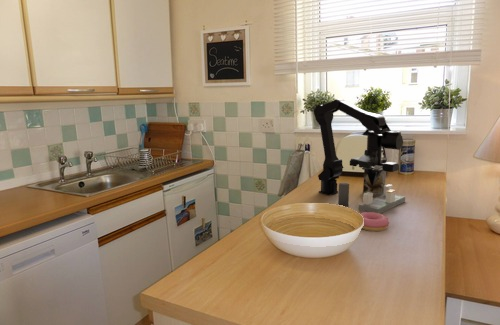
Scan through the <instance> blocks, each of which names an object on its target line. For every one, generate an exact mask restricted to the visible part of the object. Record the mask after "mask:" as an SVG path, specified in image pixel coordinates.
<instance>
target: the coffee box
mask: <svg viewBox="0 0 500 325" xmlns="http://www.w3.org/2000/svg"><path fill="white" fill-rule="evenodd" d="M381 159H383V162H381V163H387V162H388V157H381ZM386 177H387V171H384V170H383V171H382V172H381V173H380V175H379V176H378V178H377V180H376V182H375V184H374V185H371V184H370V181H369V177H368V175H367V173H366V171H365V170H364V172H363V183H362V184H363V186H362V187H363V188H362V195H363V194H364V193H367V192H371V193H373V196H381V195H383V194H384V186H385V185H386Z"/></svg>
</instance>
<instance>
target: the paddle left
mask: <svg viewBox="0 0 500 325" xmlns="http://www.w3.org/2000/svg"><path fill="white" fill-rule="evenodd" d="M362 195H363V196H362V197H363V199H362V203H363V204H366V205H369V204H371V203H373V199H374V195H373V193H371V192H367V193H364V194H363V193H362Z"/></svg>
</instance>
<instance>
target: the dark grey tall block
mask: <svg viewBox="0 0 500 325" xmlns="http://www.w3.org/2000/svg"><path fill="white" fill-rule="evenodd" d="M337 194H338V196H337V197H338V199H337V200H338V202H337V205H338V204H339V205H343V206H348V207H349V201H350V200H349V198H350V196H349V195H350V183H349V182H338V193H337Z"/></svg>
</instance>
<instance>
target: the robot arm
mask: <svg viewBox="0 0 500 325" xmlns="http://www.w3.org/2000/svg"><path fill="white" fill-rule="evenodd" d="M338 111H340V112H341V113H344V114H346V115H347V116H349V117H351V118H353V119H355V120H357V121H358V122H359V123H361V125H362V126H363V127H365V129H366V130H365V131H364V132H362V134H361V135H362V136H366V137H367V140H366V149H364V154H363V155H361V156H360V157H359V156H357V157H353V158H351V159H350V160H349V166H351V167H357V166H358V167H359V168H360V169H362V170H365V171H366V173H367V175H368V177H369V181H370V184H371V185H374V184H375V182H376V180H377V178H378V176H379V175H380V173H381V172H382V171H383V170H384V171H386V173H394V172H397V171H399V170H400V164H399V163H398V162H393V161H387V163H381V162H383V159H381V157H382V156H383V155H382V153H384V149H388V150H396V151H400V150H401V149H402V148H403V146H404V138H403V136H402V132H401V131H392V130H391V129H390V127H389V125H388V124H387V122H386V117H385V116H384V115H382V114H378V113H374V112H370V111H369V112H368V111H367V110H364V109H361V108H360V107H358V106H356V105H354V104H352V103H349V102H348V101H346V100H344V99H342V98H337V99H334V100H332V101H330V102H326V103H324V104H318V105H316V106H315V107H314V108H313V116H314V119H315V121H316V122H317V124H318V125H319V127H320V133H321V140H322V146H323V153H324V160H323V163H322V171H321V172H320V173H319V174H318V175H317V178H318V180H319V181H320V190H319V191H318V193H320V194H324V195H328V196H331V195H335V194H338V193H339V190H338V180H337V179H340V176H341V175H342V173H343V170H344V169H345V167H344V165H343V160H342V159H339V158H338V156H337V152H336V146H335V145H336V144H335V141H334V133H333V132H334V131H333V126H332V123H333V119H334V113H337V112H338Z"/></svg>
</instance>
